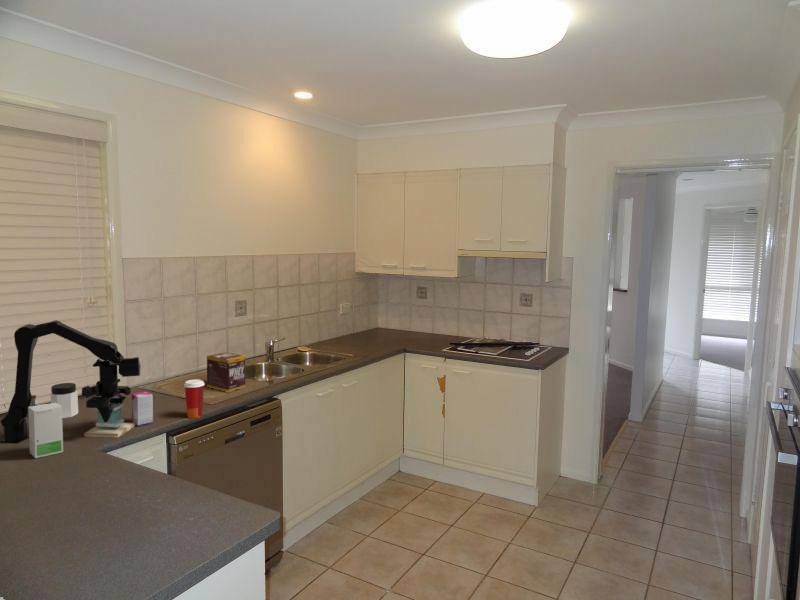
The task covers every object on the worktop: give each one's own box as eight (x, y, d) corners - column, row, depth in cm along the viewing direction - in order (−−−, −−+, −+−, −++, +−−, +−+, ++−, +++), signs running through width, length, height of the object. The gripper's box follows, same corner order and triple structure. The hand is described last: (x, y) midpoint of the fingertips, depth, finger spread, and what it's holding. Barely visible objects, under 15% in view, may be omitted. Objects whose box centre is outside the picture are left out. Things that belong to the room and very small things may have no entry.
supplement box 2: (228, 393, 247) (228, 359, 245) (206, 387, 255) (206, 355, 253) (246, 388, 255) (245, 355, 254) (224, 383, 264) (224, 351, 262)
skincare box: (34, 459, 170) (32, 411, 169) (29, 453, 175) (26, 406, 173) (64, 452, 177) (62, 405, 175) (58, 446, 181) (56, 401, 179)
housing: (124, 422, 198) (123, 403, 198) (116, 427, 193) (115, 407, 193) (103, 421, 199) (103, 402, 198) (95, 426, 194) (95, 406, 193)
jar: (47, 416, 211) (46, 386, 209) (69, 410, 218) (67, 381, 216) (60, 420, 206) (59, 389, 205) (82, 414, 213) (80, 384, 212)
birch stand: (117, 437, 190) (117, 433, 190) (84, 436, 191) (84, 432, 190) (135, 425, 202) (135, 422, 202) (104, 424, 202) (104, 421, 202)
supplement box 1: (153, 423, 205) (152, 393, 204) (137, 426, 201) (136, 397, 200) (147, 419, 209) (146, 390, 208) (131, 423, 205) (130, 393, 204)
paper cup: (200, 411, 220) (199, 378, 218) (208, 416, 214) (207, 381, 213) (180, 415, 214) (180, 381, 213) (189, 420, 209) (188, 385, 207)
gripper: (101, 370, 204) (103, 410, 205) (69, 383, 185) (71, 427, 187) (130, 371, 203) (132, 411, 205) (101, 384, 185) (103, 428, 186)
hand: (110, 419), depth 196 cm, fingers closed on housing, 5 cm apart
